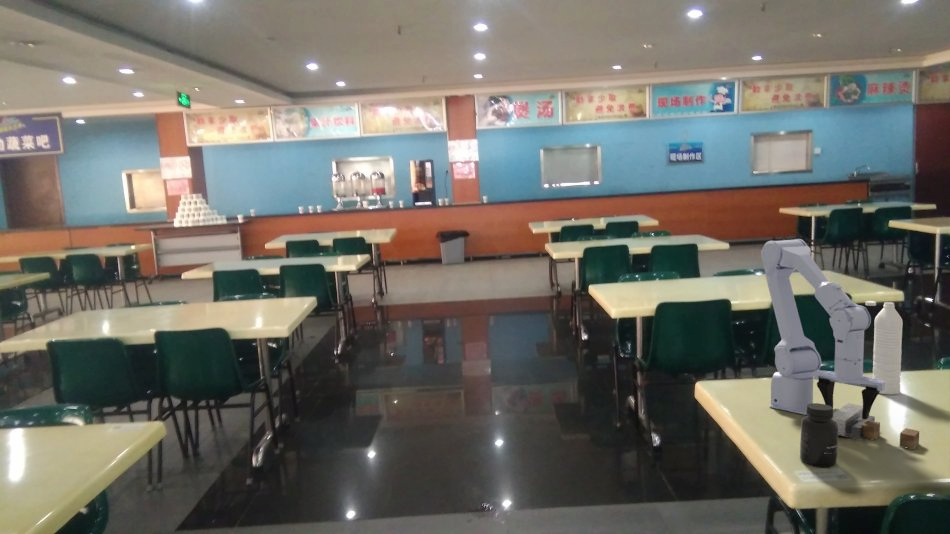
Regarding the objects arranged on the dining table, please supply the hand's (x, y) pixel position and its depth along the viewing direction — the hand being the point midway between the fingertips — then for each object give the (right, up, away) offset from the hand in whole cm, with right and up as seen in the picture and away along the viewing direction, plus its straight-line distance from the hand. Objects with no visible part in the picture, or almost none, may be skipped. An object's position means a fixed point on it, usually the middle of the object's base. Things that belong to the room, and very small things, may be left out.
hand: (847, 414), depth 149 cm
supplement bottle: (-16, -6, -16) cm, 23 cm away
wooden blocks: (+5, -4, -7) cm, 10 cm away
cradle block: (0, -4, 0) cm, 4 cm away
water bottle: (+25, 0, +26) cm, 36 cm away
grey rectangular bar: (0, -3, 0) cm, 3 cm away
